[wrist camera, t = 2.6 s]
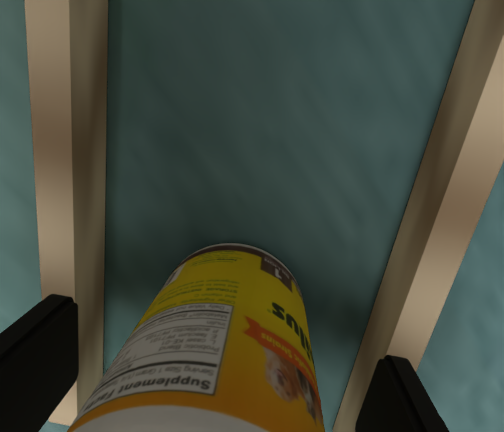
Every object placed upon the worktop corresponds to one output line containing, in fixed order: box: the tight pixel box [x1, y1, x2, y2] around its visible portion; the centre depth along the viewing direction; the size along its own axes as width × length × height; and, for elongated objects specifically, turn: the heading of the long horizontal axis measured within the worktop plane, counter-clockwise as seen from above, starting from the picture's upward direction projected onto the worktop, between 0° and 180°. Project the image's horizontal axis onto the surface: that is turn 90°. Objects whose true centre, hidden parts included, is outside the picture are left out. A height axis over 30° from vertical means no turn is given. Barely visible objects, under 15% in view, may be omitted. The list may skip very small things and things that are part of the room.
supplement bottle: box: [67, 243, 325, 432], centre depth 8 cm, size 6×6×10 cm
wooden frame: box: [25, 0, 504, 432], centre depth 9 cm, size 24×13×4 cm, turn 171°
